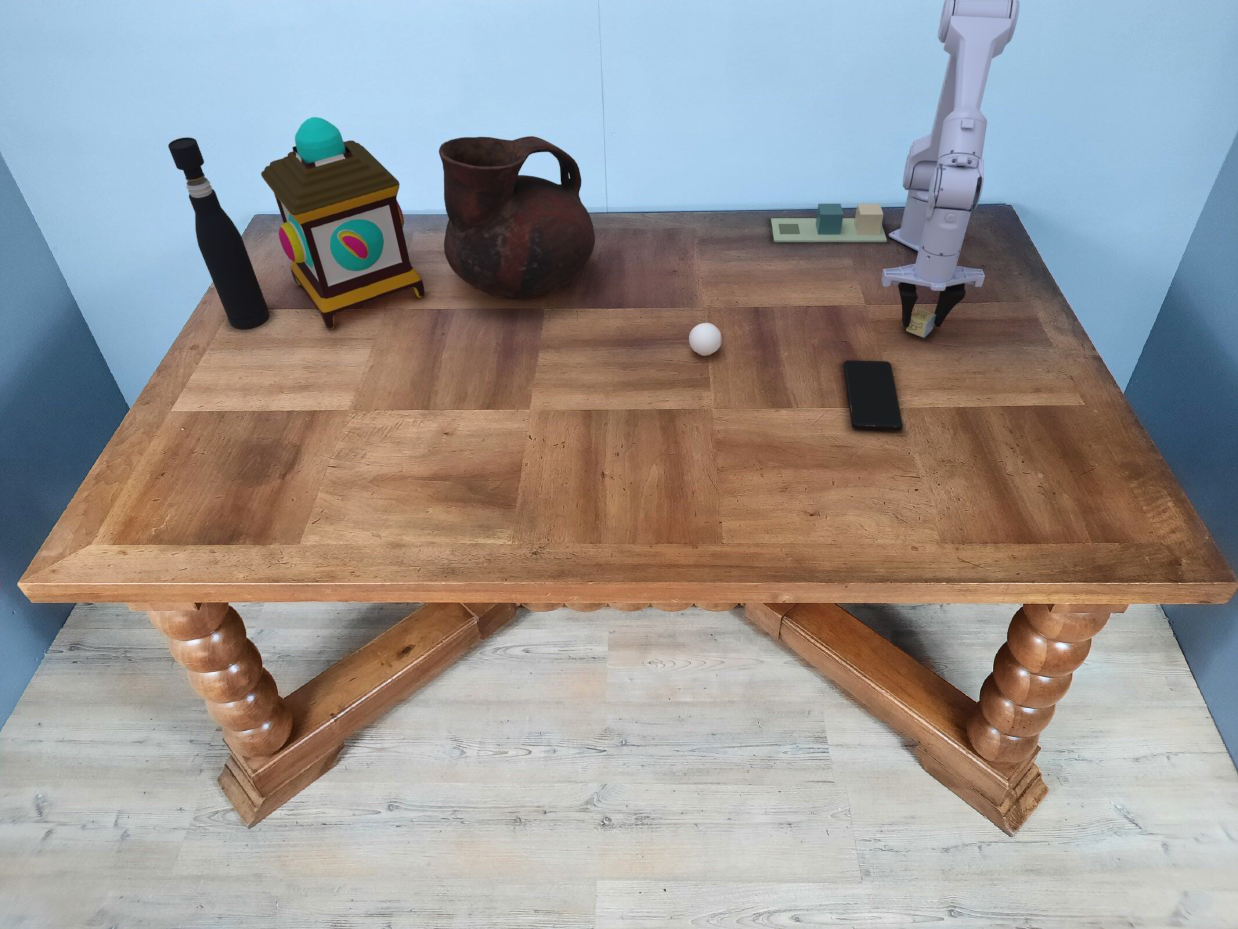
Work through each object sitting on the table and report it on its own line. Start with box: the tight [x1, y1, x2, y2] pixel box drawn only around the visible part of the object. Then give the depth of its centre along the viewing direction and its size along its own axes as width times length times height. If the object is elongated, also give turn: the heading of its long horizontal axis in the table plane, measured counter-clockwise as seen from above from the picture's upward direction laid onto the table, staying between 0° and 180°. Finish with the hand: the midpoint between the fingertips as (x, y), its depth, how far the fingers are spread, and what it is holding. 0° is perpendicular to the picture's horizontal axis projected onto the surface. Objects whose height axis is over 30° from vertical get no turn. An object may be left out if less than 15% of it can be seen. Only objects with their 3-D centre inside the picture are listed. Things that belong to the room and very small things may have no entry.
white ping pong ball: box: [688, 322, 722, 357], centre depth 134 cm, size 5×5×5 cm
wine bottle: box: [168, 136, 270, 330], centre depth 136 cm, size 6×6×30 cm
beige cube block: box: [854, 203, 884, 234], centre depth 159 cm, size 4×4×4 cm
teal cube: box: [815, 203, 845, 235], centre depth 159 cm, size 4×4×4 cm
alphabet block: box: [905, 307, 936, 339], centre depth 137 cm, size 3×3×3 cm
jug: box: [438, 135, 596, 300], centre depth 143 cm, size 25×25×25 cm
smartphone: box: [843, 359, 904, 432], centre depth 126 cm, size 7×1×15 cm
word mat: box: [770, 217, 888, 243], centre depth 160 cm, size 20×8×1 cm, turn 87°
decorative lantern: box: [260, 116, 425, 330], centre depth 140 cm, size 20×20×30 cm
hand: (920, 323), depth 137 cm, fingers closed on alphabet block, 4 cm apart
